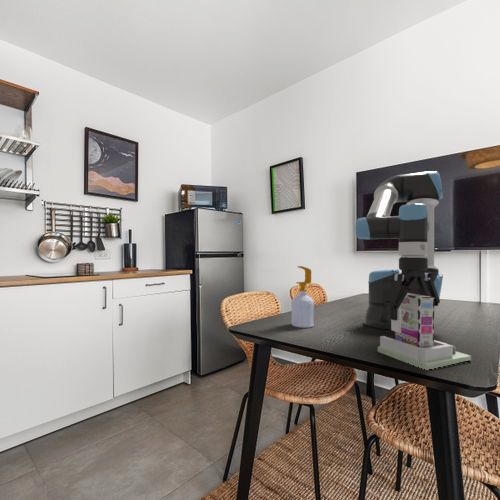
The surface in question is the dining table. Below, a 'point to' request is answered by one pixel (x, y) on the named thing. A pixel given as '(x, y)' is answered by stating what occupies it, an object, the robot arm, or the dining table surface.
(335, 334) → the dining table surface
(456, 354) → the white open tray
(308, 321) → the soap bottle
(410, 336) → the candy bar box
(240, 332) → the dining table surface
